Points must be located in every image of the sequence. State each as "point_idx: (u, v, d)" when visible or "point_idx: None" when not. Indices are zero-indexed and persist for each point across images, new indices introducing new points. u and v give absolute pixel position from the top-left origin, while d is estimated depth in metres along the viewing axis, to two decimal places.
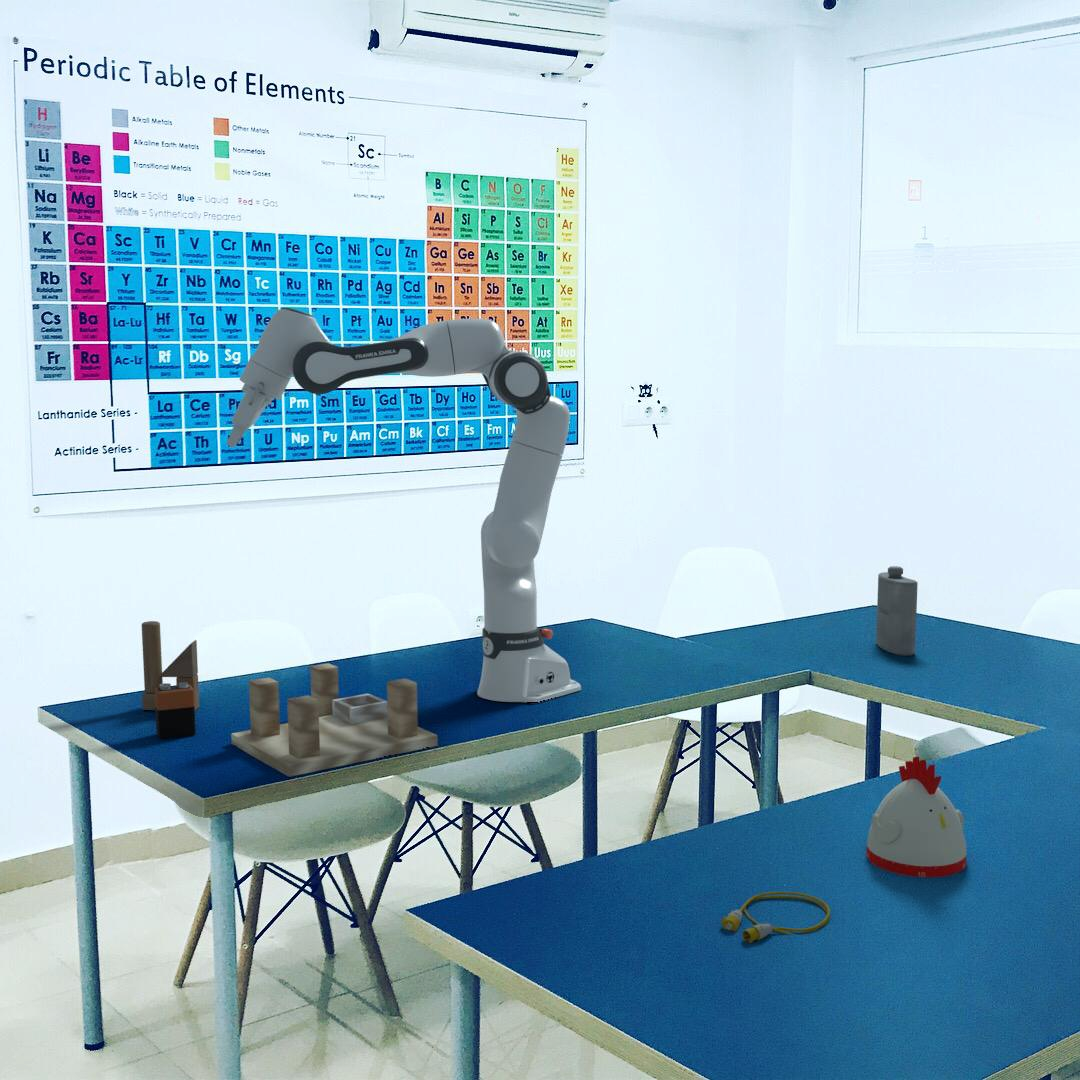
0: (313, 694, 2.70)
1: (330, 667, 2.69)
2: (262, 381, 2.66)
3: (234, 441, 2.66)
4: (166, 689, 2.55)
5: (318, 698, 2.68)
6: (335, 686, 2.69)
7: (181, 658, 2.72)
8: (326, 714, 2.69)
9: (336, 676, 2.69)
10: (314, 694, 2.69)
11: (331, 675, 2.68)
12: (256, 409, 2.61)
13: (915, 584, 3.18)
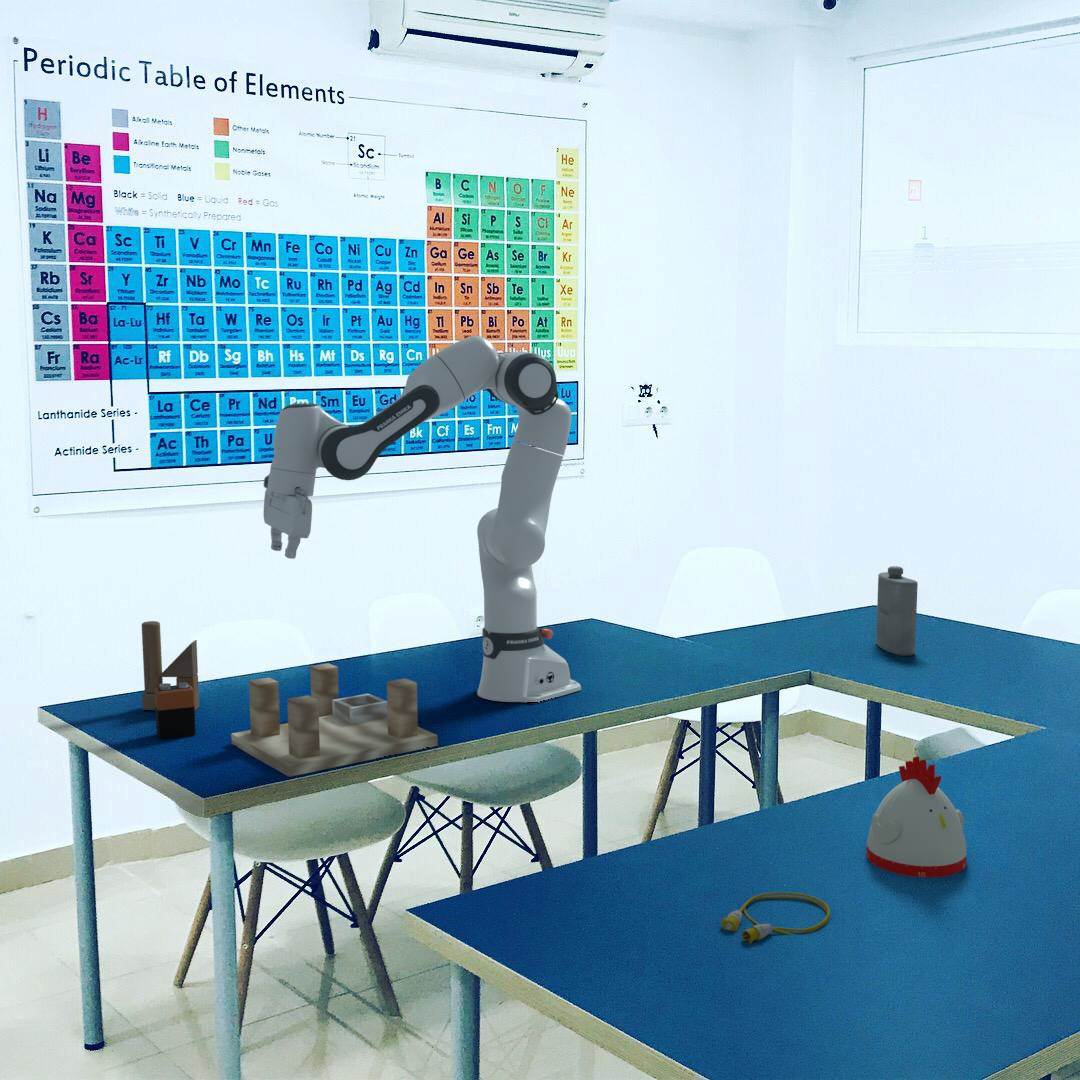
0: (313, 694, 2.70)
1: (330, 667, 2.69)
2: (298, 485, 2.62)
3: (293, 552, 2.62)
4: (166, 689, 2.55)
5: (318, 698, 2.68)
6: (335, 686, 2.69)
7: (181, 658, 2.72)
8: (326, 714, 2.69)
9: (336, 676, 2.69)
10: (314, 694, 2.69)
11: (331, 675, 2.68)
12: (311, 515, 2.59)
13: (915, 584, 3.18)
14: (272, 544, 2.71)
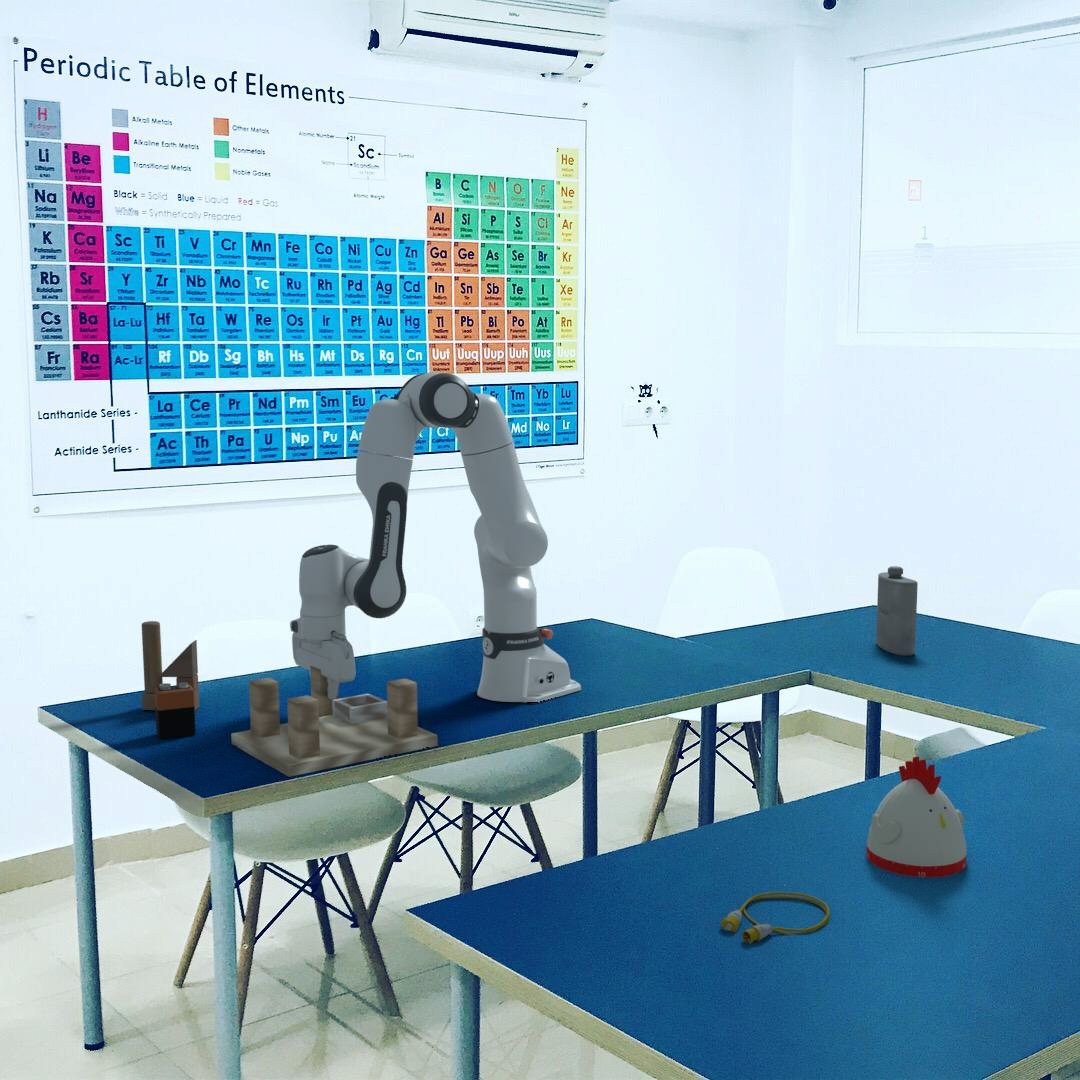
0: (312, 694, 2.70)
1: None
2: (333, 629, 2.65)
3: (334, 692, 2.67)
4: (166, 689, 2.55)
5: (318, 698, 2.68)
6: None
7: (181, 658, 2.72)
8: (326, 714, 2.69)
9: None
10: (314, 694, 2.69)
11: None
12: (353, 658, 2.62)
13: (915, 584, 3.18)
14: None
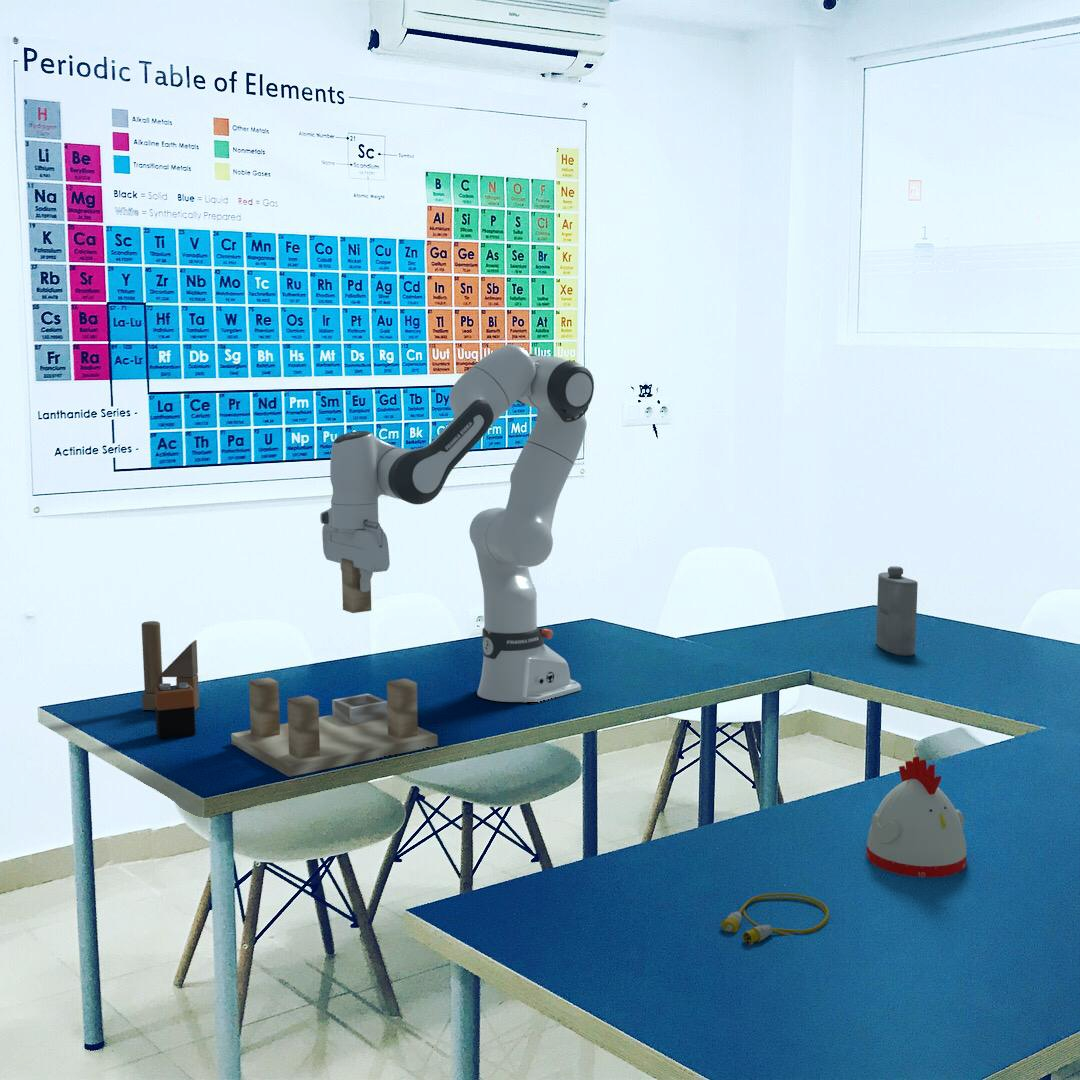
0: (344, 587, 2.59)
1: None
2: (365, 518, 2.54)
3: (367, 585, 2.57)
4: (166, 689, 2.55)
5: (350, 591, 2.57)
6: None
7: (181, 658, 2.72)
8: (358, 608, 2.58)
9: None
10: (345, 588, 2.59)
11: None
12: (387, 547, 2.51)
13: (915, 584, 3.18)
14: None
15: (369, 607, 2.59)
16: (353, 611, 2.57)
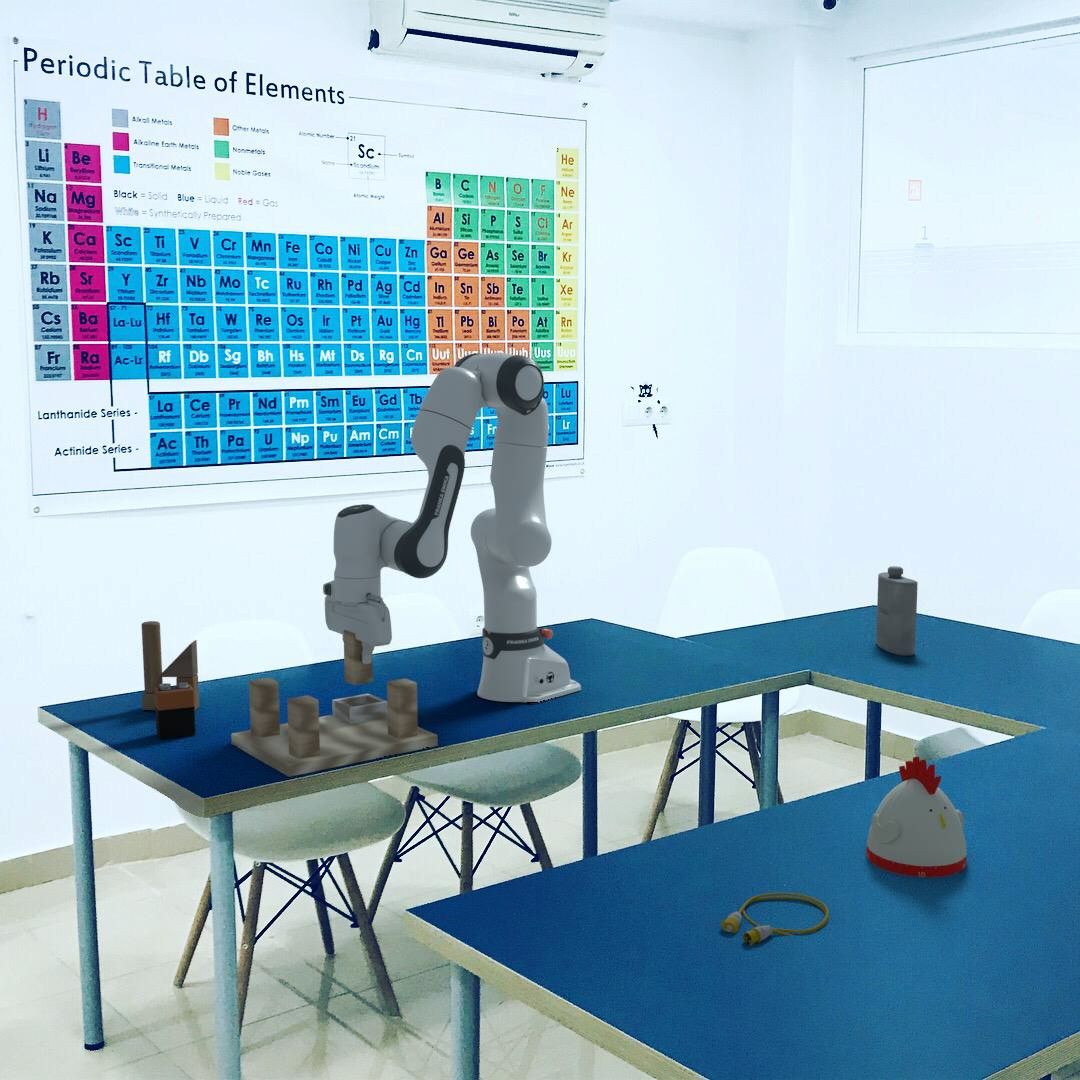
0: (346, 659, 2.61)
1: None
2: (368, 591, 2.56)
3: (369, 657, 2.58)
4: (166, 689, 2.55)
5: (352, 663, 2.59)
6: None
7: (181, 658, 2.72)
8: (360, 680, 2.59)
9: None
10: (347, 659, 2.60)
11: None
12: (390, 621, 2.53)
13: (915, 584, 3.18)
14: None
15: (371, 678, 2.61)
16: (355, 683, 2.59)
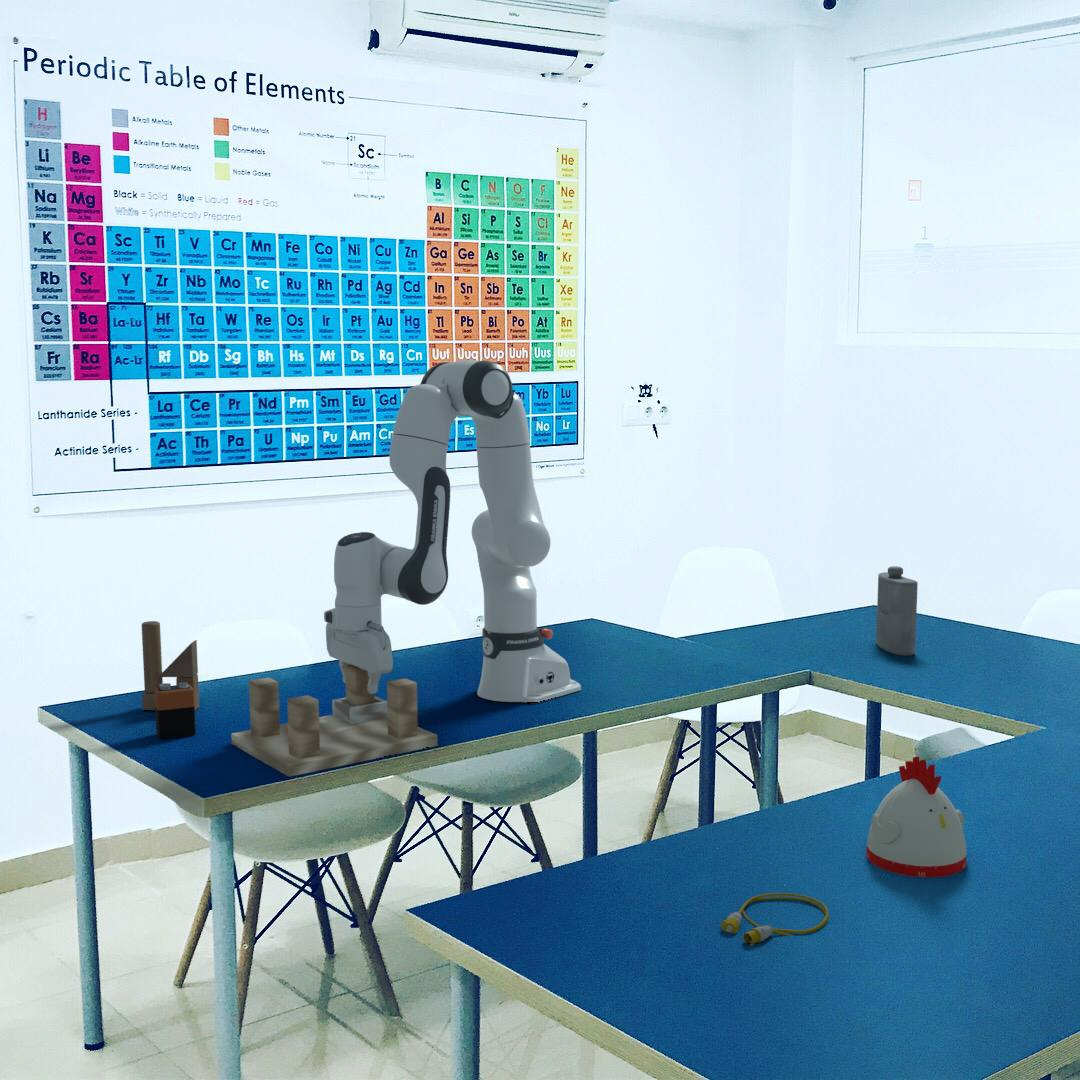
0: (347, 694, 2.62)
1: None
2: (369, 619, 2.56)
3: (375, 686, 2.58)
4: (166, 689, 2.55)
5: (353, 698, 2.60)
6: None
7: (181, 658, 2.72)
8: None
9: None
10: (349, 694, 2.61)
11: (367, 674, 2.60)
12: (391, 649, 2.54)
13: (915, 584, 3.18)
14: (344, 678, 2.65)
15: None
16: None
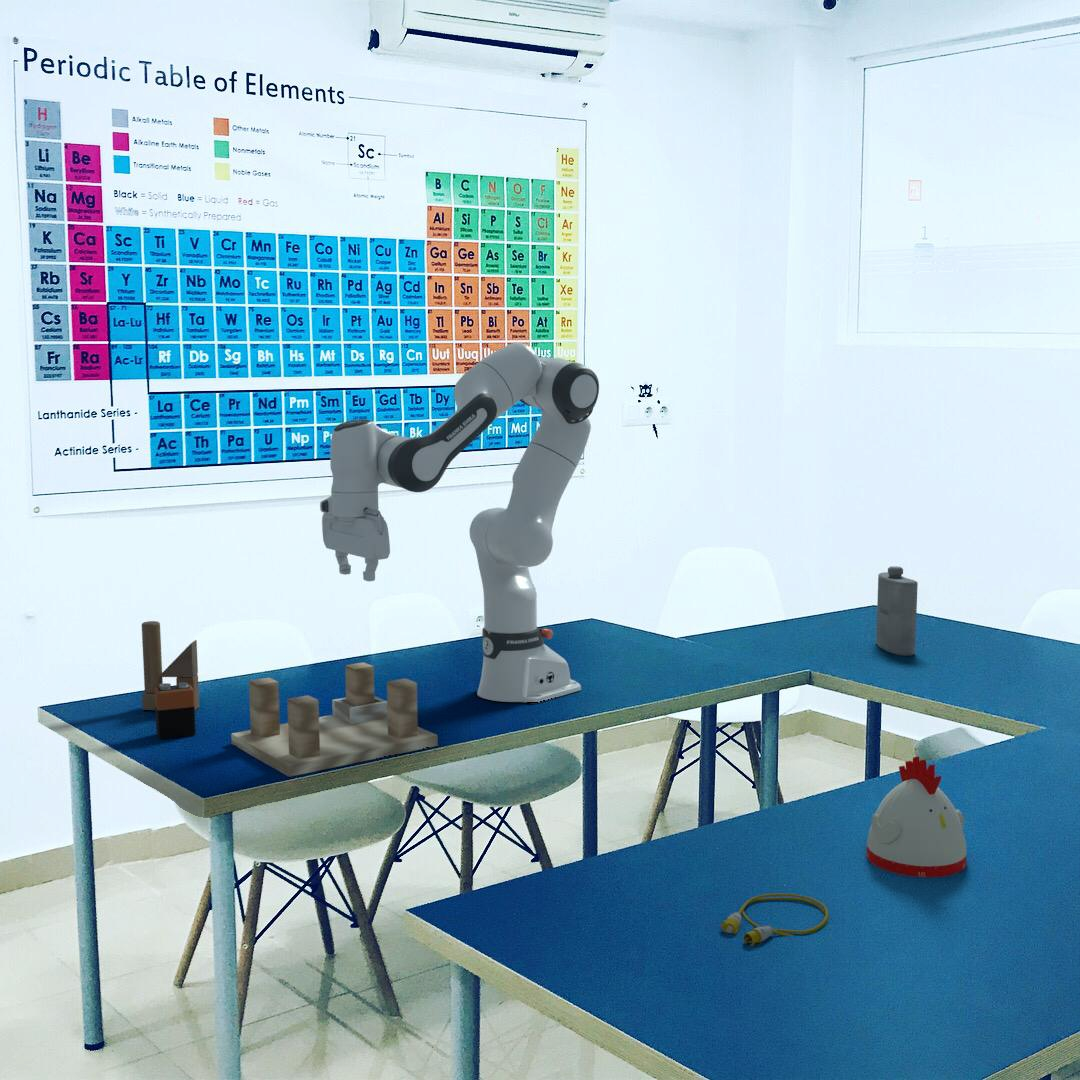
0: (347, 694, 2.62)
1: (366, 666, 2.61)
2: (366, 506, 2.54)
3: (372, 574, 2.55)
4: (166, 689, 2.55)
5: (353, 698, 2.60)
6: (371, 686, 2.61)
7: (181, 658, 2.72)
8: None
9: (372, 675, 2.61)
10: (349, 694, 2.61)
11: (367, 674, 2.60)
12: (388, 535, 2.51)
13: (915, 584, 3.18)
14: (341, 568, 2.63)
15: None
16: None
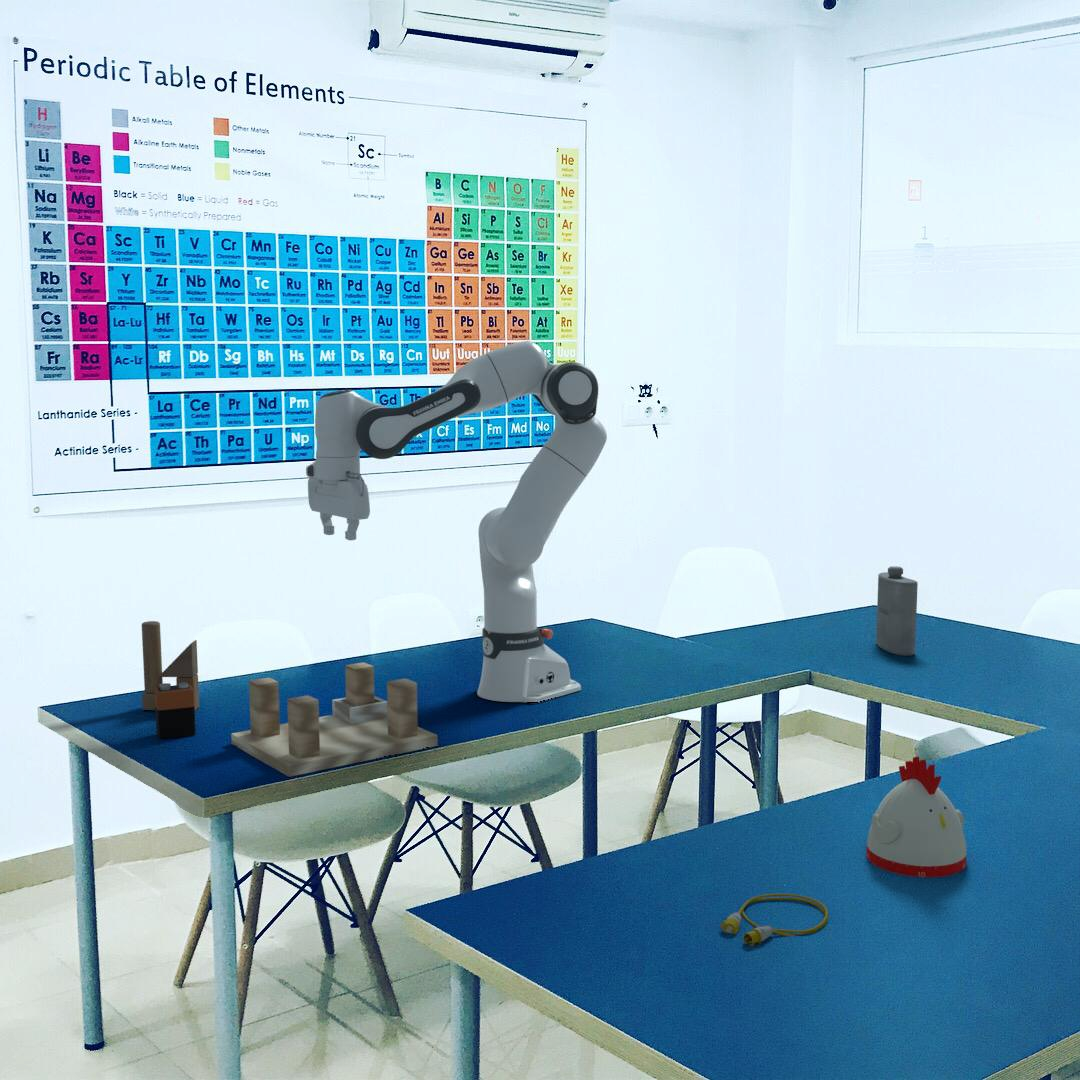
0: (347, 694, 2.62)
1: (366, 666, 2.61)
2: (348, 470, 2.73)
3: (354, 534, 2.74)
4: (166, 689, 2.55)
5: (353, 698, 2.60)
6: (371, 686, 2.61)
7: (181, 658, 2.72)
8: None
9: (372, 675, 2.61)
10: (349, 694, 2.61)
11: (367, 674, 2.60)
12: (368, 496, 2.70)
13: (915, 584, 3.18)
14: (325, 529, 2.81)
15: None
16: None
